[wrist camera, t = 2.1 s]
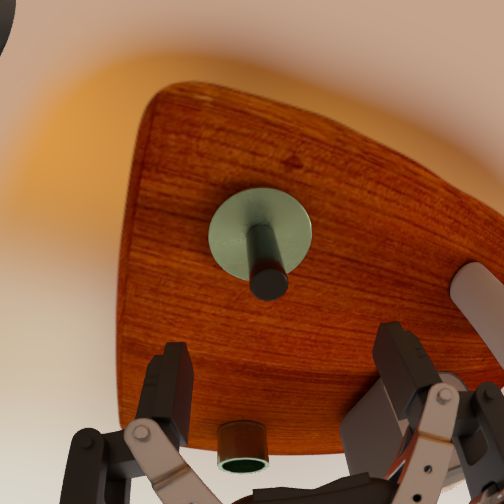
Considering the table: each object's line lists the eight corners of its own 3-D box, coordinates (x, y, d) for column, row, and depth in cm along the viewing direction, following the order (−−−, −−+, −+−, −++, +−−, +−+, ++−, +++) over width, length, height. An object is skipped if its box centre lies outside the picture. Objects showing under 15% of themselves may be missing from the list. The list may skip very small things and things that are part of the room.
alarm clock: (457, 371, 34) (502, 456, 20) (412, 417, 39) (442, 496, 25) (373, 368, 30) (419, 491, 17) (327, 421, 35) (350, 524, 22)
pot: (221, 441, 37) (221, 474, 32) (214, 421, 34) (214, 459, 29) (266, 439, 37) (269, 472, 32) (265, 418, 34) (268, 456, 29)
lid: (215, 277, 23) (211, 339, 18) (203, 187, 20) (191, 229, 14) (307, 269, 23) (329, 328, 18) (309, 180, 20) (340, 219, 14)
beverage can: (442, 303, 27) (503, 390, 16) (453, 263, 24) (529, 350, 14) (475, 294, 26) (535, 371, 16) (486, 255, 24) (559, 331, 14)
